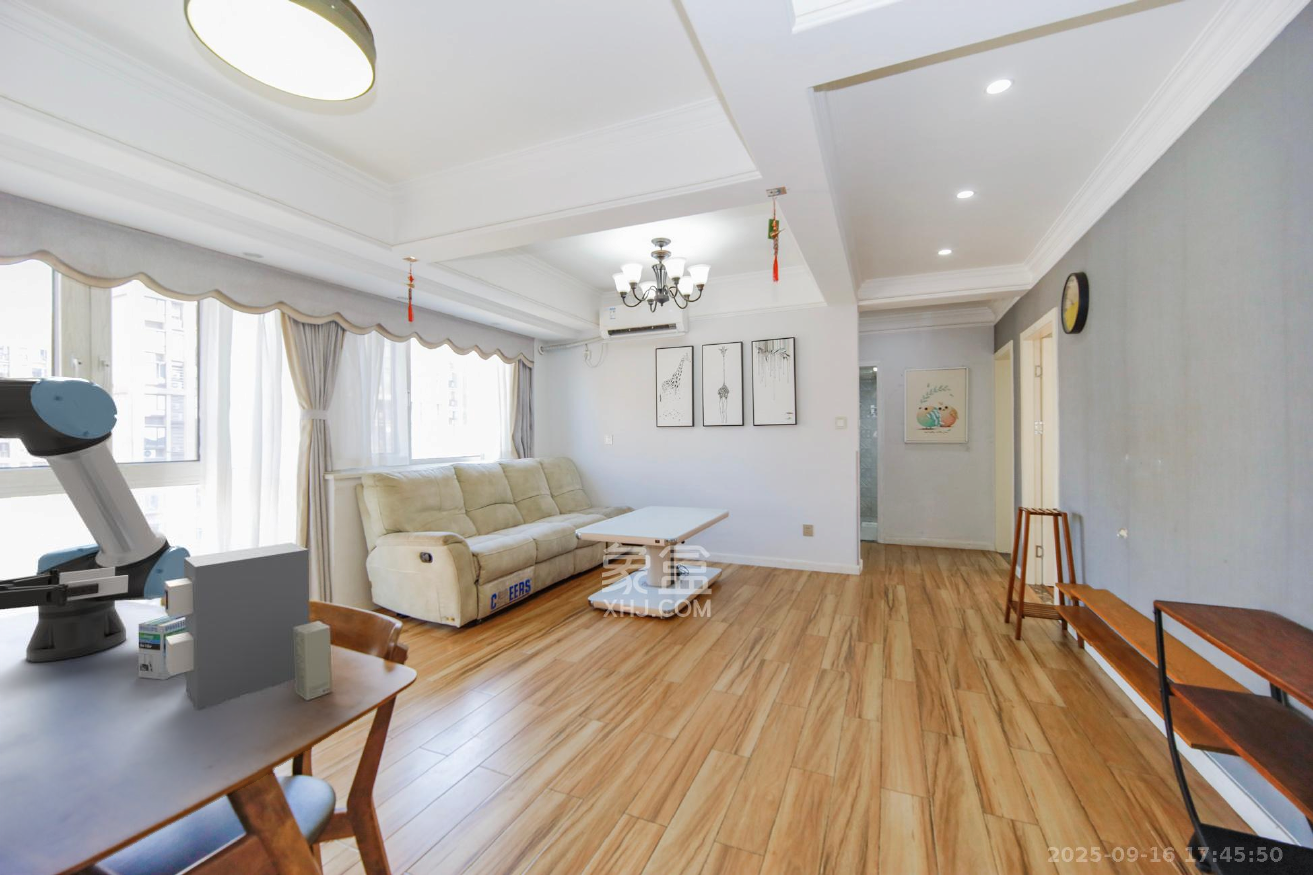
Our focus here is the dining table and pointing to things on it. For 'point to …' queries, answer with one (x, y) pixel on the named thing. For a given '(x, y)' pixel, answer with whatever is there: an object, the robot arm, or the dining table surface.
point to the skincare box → (312, 659)
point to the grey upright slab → (245, 620)
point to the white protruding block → (179, 597)
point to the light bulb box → (157, 645)
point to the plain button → (179, 653)
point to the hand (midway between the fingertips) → (121, 578)
